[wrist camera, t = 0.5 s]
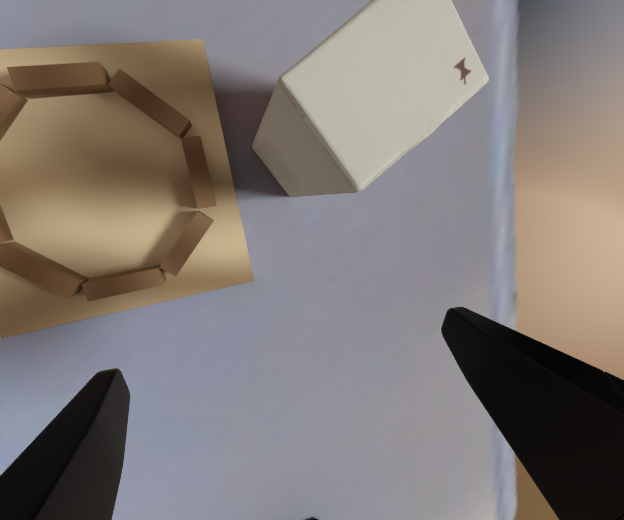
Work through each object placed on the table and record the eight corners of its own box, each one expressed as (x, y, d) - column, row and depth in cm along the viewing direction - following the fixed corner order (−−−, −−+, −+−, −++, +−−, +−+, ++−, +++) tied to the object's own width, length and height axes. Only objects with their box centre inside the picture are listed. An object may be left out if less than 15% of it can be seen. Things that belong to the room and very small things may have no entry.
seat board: (252, 276, 21) (255, 285, 19) (15, 329, 18) (-16, 348, 16) (204, 49, 18) (201, 27, 16) (-94, 66, 15) (-151, 42, 13)
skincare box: (317, 89, 20) (434, -55, 9) (354, 144, 22) (497, 81, 10) (246, 147, 20) (273, 74, 8) (288, 200, 21) (362, 198, 10)
